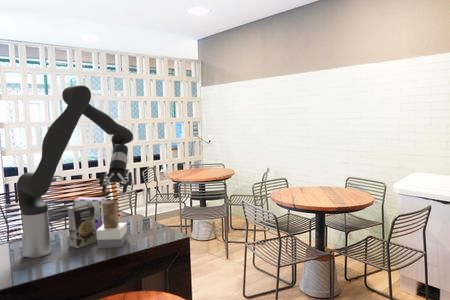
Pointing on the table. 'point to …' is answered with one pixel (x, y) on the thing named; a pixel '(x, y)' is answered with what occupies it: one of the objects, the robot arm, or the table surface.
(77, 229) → the coffee box
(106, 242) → the tower base slab
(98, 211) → the candy box
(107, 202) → the walnut block
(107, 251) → the table surface
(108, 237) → the tower top slab
